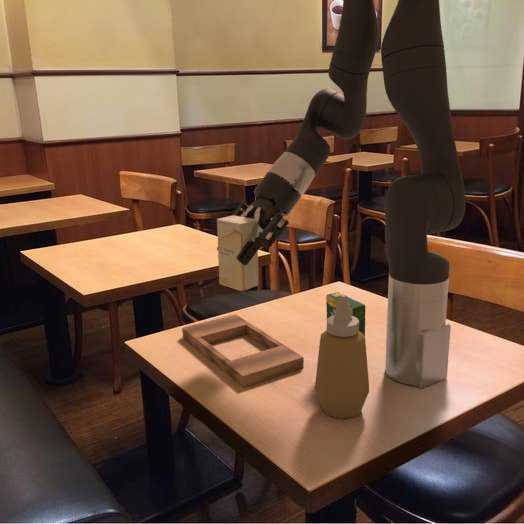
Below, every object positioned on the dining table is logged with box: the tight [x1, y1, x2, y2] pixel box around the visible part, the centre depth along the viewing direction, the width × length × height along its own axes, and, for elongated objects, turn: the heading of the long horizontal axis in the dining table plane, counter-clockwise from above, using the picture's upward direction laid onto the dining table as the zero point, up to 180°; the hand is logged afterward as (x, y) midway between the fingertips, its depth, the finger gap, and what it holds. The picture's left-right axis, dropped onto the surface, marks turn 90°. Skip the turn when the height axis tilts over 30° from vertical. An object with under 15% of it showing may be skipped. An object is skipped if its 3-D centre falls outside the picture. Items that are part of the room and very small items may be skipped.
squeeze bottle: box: [314, 294, 370, 419], centre depth 83 cm, size 8×8×18 cm
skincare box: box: [216, 214, 259, 292], centre depth 101 cm, size 6×4×12 cm
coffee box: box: [325, 291, 366, 337], centre depth 95 cm, size 8×3×13 cm, turn 25°
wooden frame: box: [181, 313, 305, 388], centre depth 106 cm, size 24×12×2 cm, turn 32°
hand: (230, 257), depth 100 cm, fingers closed on skincare box, 7 cm apart
